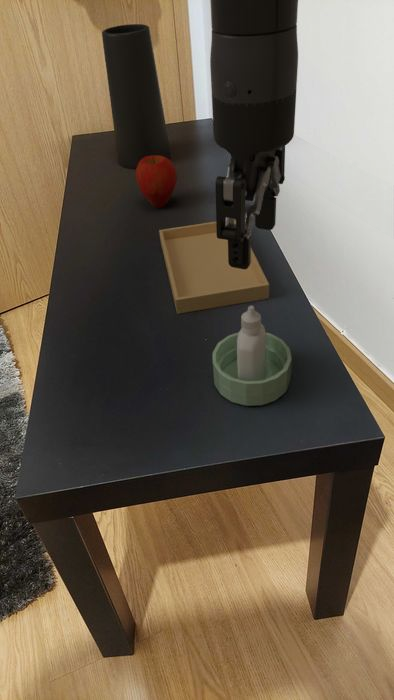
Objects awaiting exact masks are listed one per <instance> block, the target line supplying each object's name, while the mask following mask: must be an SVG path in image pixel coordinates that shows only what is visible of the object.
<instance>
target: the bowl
mask: <svg viewBox="0 0 394 700" xmlns="http://www.w3.org/2000/svg"><path fill="white" fill-rule="evenodd" d="M238 334H239V331H238V332H234V333H231V334H229V335H227V336H226V337H224V338H223V339H222V340H220V341H218V343H217V344H216V346H215V348H214V349H213V351H212V369H213V371H212V372H213V383H214V387H215V388H216V390H217V391H218V392H219V394H220V395H221V396H222V397H224V398H225V399H226V400H228V401H229V402H231V403H235V404H237V405H242V406H246V407H250V406H251V407H252V406H264V405H267V404H270V403H272V402H275V401H278V399H279V398H281V397H282V396H283V395H284V394H285V393H286V392H287V390H288V388H289V386H290V383H291V377H292V376H291V375H292V360H293V358H292V353H291V348H290V347H289V346H288V344H287V343H286V342H285V341H284V340H283V339H281V338H280V337H278V336H277V335H274V334H272V333H271V332H266V349H265V377H264V380H262V381H244V380H239V379H238V365H237V337H238Z"/></svg>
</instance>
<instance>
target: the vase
mask: <svg viewBox="0 0 394 700" xmlns="http://www.w3.org/2000/svg"><path fill="white" fill-rule="evenodd" d="M150 30H151V29H150V26H148V24H142V23H130V24H129V23H128V24H122V25H121V24H120V25H117V26H116V25H114V26H111V27H107V28H105V29H103V30H102V32H101V39H102V46H103V54H104V63H105V69H106V70H105V71H106V78H107V86H108V92H109V99H110V100H109V102H110V109H111V117H112V124H113V132H114V133H113V134H114V141H115V147H116V154H117V162H118V164H119V166H121V167H122V168H125V169H128V170H136V168H137V166H138V164H139V162H140V160H142V159H143V158H144V157H147V156H154V155H159V156H163V157H166V158H168V159H169V160H171V155H172V154H171V148H170V142H169V136H168V130H167V125H166V124H167V123H166V119H165V113H164V112H165V111H164V105H163V99H162V95H161V88H160V82H159V77H158V71H157V70H158V69H157V64H156V59H155V53H154V47H153V41H152V36H151V31H150Z"/></svg>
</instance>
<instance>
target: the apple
mask: <svg viewBox="0 0 394 700" xmlns="http://www.w3.org/2000/svg"><path fill="white" fill-rule="evenodd" d="M135 179H136V183H137V186H138V189H139V190H140V192H141V194H142V195H143V197H145V199H146V200H147V202H149V203H150V205H151V206H152V207H155V208H157V209H158V208H160V209H161V208H164V207H165V206H166V205H167V204H168V202H169V200H170V199H171V197H172V194H173V193H174V191H175V187H176V185H177V181H178V173H177V169H176V167H175V165H174V163H173V162H172V161H171V159H168V158H166V157H163V156H159V155H154V156H147V157H144V158H143V159H142V160H140V162H139V164H138V166H137V168H136V169H135Z"/></svg>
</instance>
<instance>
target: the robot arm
mask: <svg viewBox="0 0 394 700" xmlns="http://www.w3.org/2000/svg"><path fill="white" fill-rule="evenodd" d="M209 4H210V24H211V44H210V59H209V62H210V63H209V64H210V87H211V90H210V91H211V108H212V109H211V111H212V127H213V128H212V129H213V130H212V133H213V139H214V142H215V143H216V145H217V146H218V147H220V148H221V149H224V150H225V151H226V152H228V153H229V154H230V161H229V164H228V168H227V171H226V172H227V173H226V176H222V175H221V176H220V175H217V177H216V179H215V183H214V184H215V187H214V188H215V222H216V229H217V238H219V239H225V240H228V263H229V265H230V266H231V267H234V268H239V269H247V268H248V267H249V265H250V264H251V249H252V228H253V224H255V227H256V228H257V229H261V230H266V231H272V230H273V229H274V228H275V226H276V220H277V219H276V217H277V215H276V214H277V197H278V196H279V194H280V191H281V189H280V185H283V184H284V182H285V178H286V177H285V173H286V172H285V170H286V169H285V168H286V146H287V145H288V144H289V143H290V142H292V140H293V139H294V135H295V123H296V121H295V120H296V105H297V88H298V87H297V85H298V70H299V44H298V11H299V10H298V9H299V0H209ZM246 201H249V202H251V203H250V204H249V203H248V204H247V203H246ZM234 219H235V220H236V224H234Z"/></svg>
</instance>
